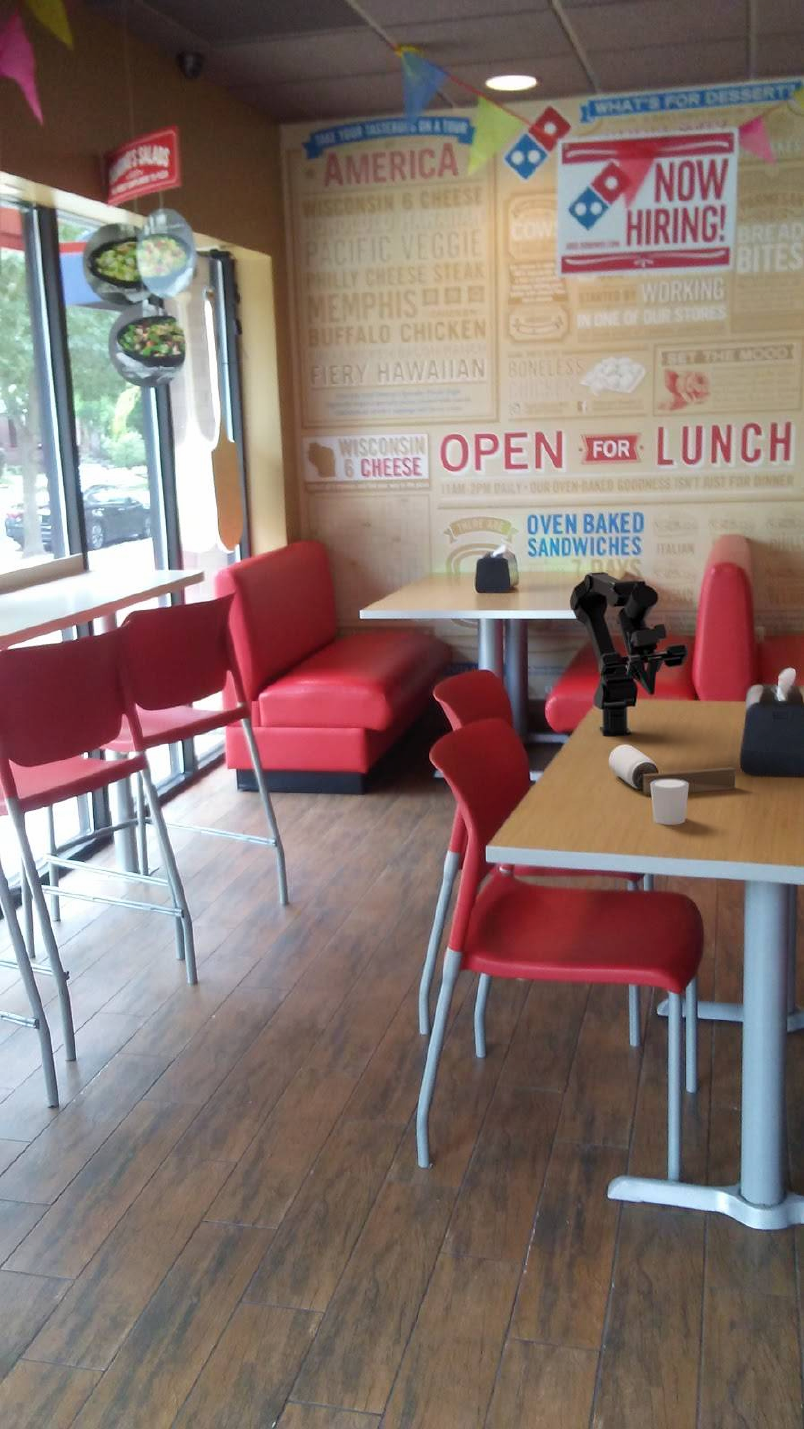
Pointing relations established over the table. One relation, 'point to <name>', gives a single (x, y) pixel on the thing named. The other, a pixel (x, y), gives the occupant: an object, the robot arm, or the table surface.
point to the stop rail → (696, 779)
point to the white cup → (669, 800)
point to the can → (631, 765)
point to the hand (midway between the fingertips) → (652, 694)
